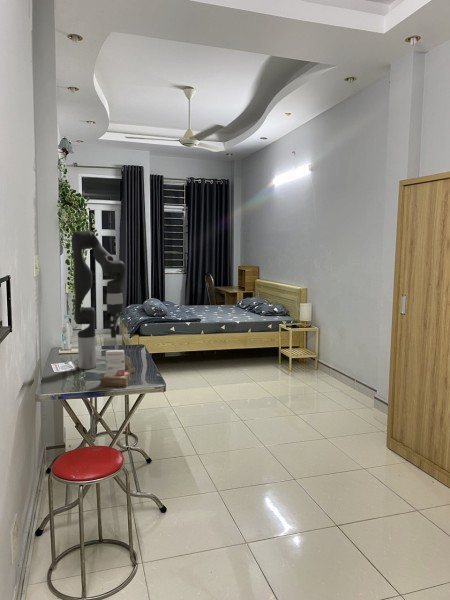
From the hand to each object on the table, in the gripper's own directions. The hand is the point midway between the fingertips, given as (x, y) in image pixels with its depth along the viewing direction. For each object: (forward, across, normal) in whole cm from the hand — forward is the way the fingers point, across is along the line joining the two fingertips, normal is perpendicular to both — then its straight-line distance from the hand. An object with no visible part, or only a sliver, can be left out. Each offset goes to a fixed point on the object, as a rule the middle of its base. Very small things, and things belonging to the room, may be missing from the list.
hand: (115, 336), depth 223 cm
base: (+23, 0, 0) cm, 23 cm away
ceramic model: (+24, -20, -2) cm, 31 cm away
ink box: (+19, 0, 0) cm, 19 cm away
